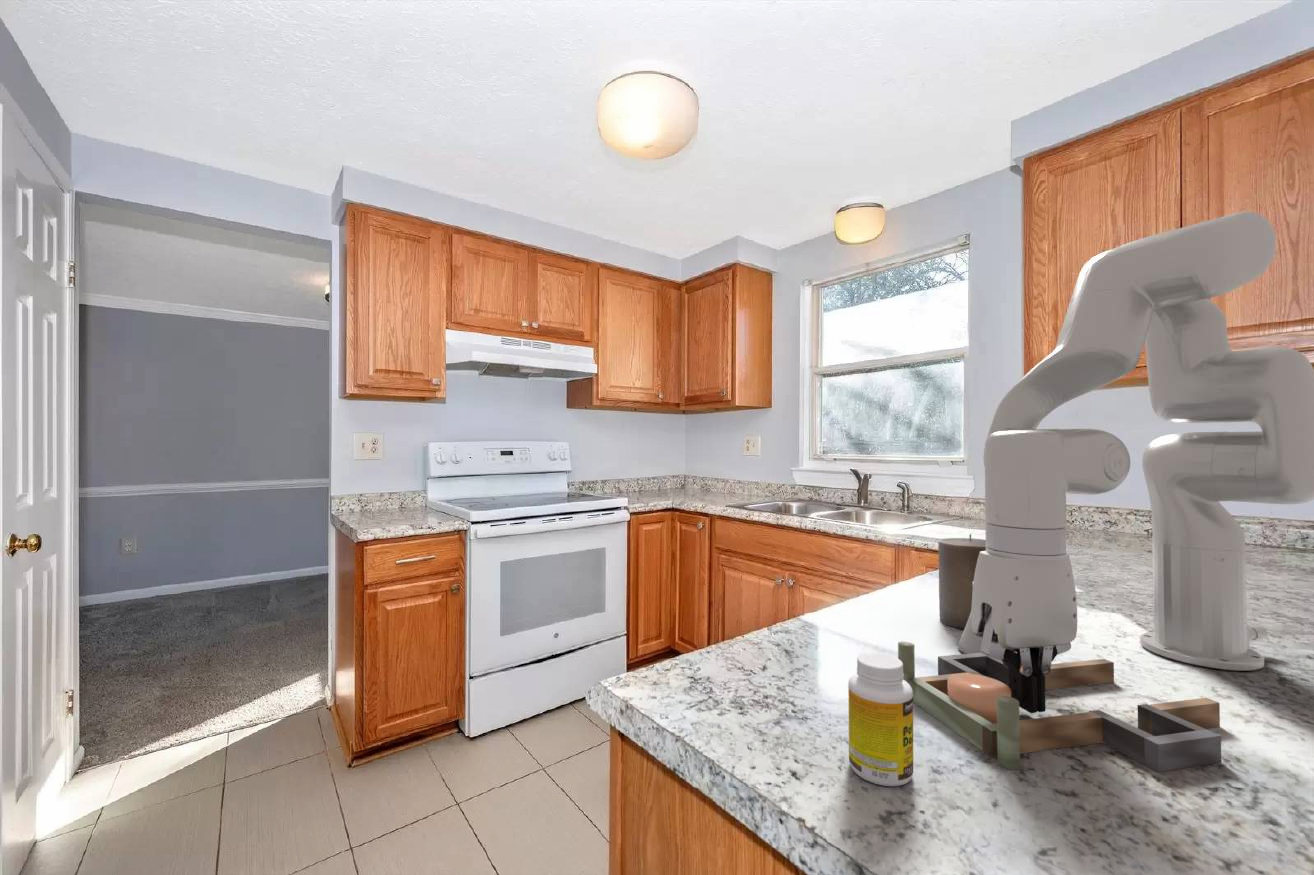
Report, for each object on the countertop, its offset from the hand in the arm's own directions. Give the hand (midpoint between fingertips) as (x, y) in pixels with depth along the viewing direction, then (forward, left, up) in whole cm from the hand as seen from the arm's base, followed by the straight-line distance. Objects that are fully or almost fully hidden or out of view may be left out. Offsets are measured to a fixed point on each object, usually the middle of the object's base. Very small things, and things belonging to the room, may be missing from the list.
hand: (1026, 706), depth 62 cm
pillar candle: (-18, -29, -1) cm, 34 cm away
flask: (-10, -17, -1) cm, 20 cm away
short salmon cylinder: (+6, 0, -1) cm, 6 cm away
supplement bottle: (+22, +6, -1) cm, 23 cm away
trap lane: (-4, 0, -1) cm, 4 cm away
